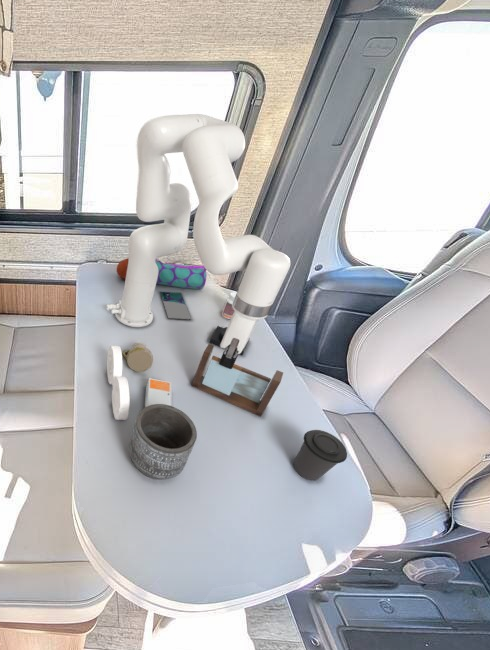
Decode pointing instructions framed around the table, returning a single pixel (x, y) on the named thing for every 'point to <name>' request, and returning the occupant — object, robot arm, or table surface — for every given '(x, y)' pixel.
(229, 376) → the window pane
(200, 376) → the window frame
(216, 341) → the button housing
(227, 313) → the pill bottle
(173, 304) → the smartphone
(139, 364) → the mug
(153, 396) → the cosmetic box
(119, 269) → the fruit
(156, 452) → the planter
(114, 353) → the letter
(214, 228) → the robot arm
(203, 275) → the pencil case
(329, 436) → the coffee cup
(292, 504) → the table surface
